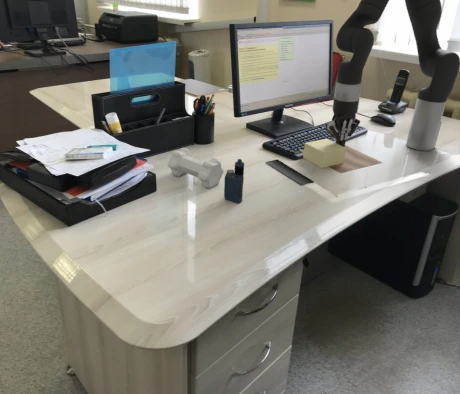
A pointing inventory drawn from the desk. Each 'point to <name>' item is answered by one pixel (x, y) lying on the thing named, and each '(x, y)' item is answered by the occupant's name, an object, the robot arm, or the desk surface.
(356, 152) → the brown cloth
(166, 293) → the desk surface
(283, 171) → the mat
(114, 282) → the desk surface
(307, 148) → the memo block
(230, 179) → the vaping device
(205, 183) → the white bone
